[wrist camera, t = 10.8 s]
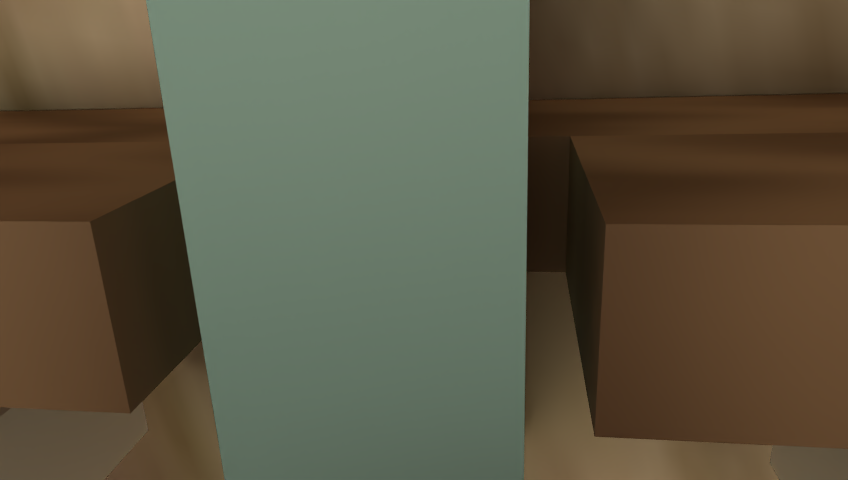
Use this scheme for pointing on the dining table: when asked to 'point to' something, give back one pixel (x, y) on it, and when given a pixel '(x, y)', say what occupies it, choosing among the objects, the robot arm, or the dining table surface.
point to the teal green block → (355, 230)
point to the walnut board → (546, 252)
